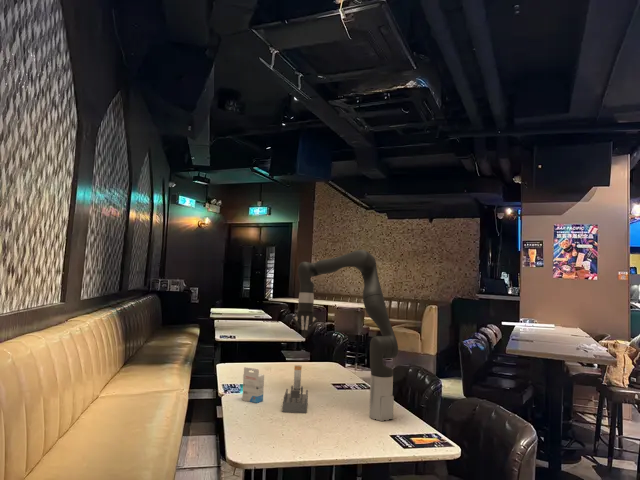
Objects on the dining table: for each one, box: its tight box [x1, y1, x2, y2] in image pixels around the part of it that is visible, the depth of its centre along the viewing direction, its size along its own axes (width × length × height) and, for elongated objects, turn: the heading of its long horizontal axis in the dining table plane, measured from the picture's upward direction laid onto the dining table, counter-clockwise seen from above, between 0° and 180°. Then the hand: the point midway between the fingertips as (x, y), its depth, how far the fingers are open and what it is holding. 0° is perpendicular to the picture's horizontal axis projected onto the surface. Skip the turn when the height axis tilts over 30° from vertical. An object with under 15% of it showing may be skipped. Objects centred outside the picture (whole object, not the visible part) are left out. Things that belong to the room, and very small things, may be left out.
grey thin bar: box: [293, 364, 303, 391], centre depth 207 cm, size 1×3×11 cm, turn 90°
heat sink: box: [282, 385, 309, 414], centre depth 201 cm, size 15×10×9 cm, turn 0°
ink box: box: [241, 367, 265, 404], centre depth 209 cm, size 9×5×15 cm, turn 62°
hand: (304, 337), depth 227 cm, fingers closed
